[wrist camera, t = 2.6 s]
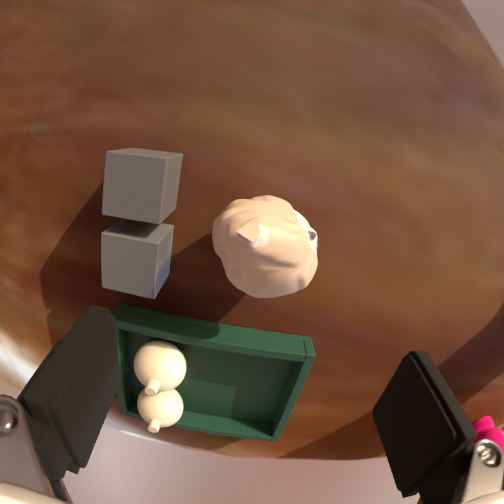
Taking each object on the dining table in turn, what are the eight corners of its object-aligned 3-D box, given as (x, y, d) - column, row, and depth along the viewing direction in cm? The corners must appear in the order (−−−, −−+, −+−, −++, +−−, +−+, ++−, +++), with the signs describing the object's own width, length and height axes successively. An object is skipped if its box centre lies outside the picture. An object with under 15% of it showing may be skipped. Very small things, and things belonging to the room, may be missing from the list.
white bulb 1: (192, 335, 25) (179, 379, 20) (188, 372, 26) (177, 415, 21) (142, 324, 24) (121, 365, 20) (143, 361, 26) (125, 402, 21)
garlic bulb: (315, 193, 21) (347, 225, 13) (303, 276, 23) (322, 341, 16) (220, 185, 21) (199, 213, 13) (216, 270, 23) (198, 333, 16)
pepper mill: (456, 431, 33) (498, 527, 14) (493, 406, 31) (542, 496, 13) (458, 446, 35) (493, 531, 16) (491, 424, 34) (533, 505, 15)
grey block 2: (174, 225, 22) (158, 243, 18) (169, 274, 23) (154, 299, 20) (124, 216, 22) (100, 232, 18) (122, 264, 23) (101, 287, 19)
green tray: (311, 336, 25) (316, 355, 23) (276, 423, 30) (277, 441, 27) (119, 301, 24) (108, 318, 22) (127, 396, 29) (120, 413, 26)
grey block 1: (183, 153, 20) (167, 158, 16) (175, 209, 21) (159, 224, 18) (130, 147, 20) (105, 151, 16) (125, 201, 21) (101, 214, 18)
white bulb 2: (188, 379, 27) (177, 422, 22) (186, 407, 28) (177, 447, 23) (143, 369, 26) (126, 409, 21) (145, 397, 28) (131, 436, 23)
